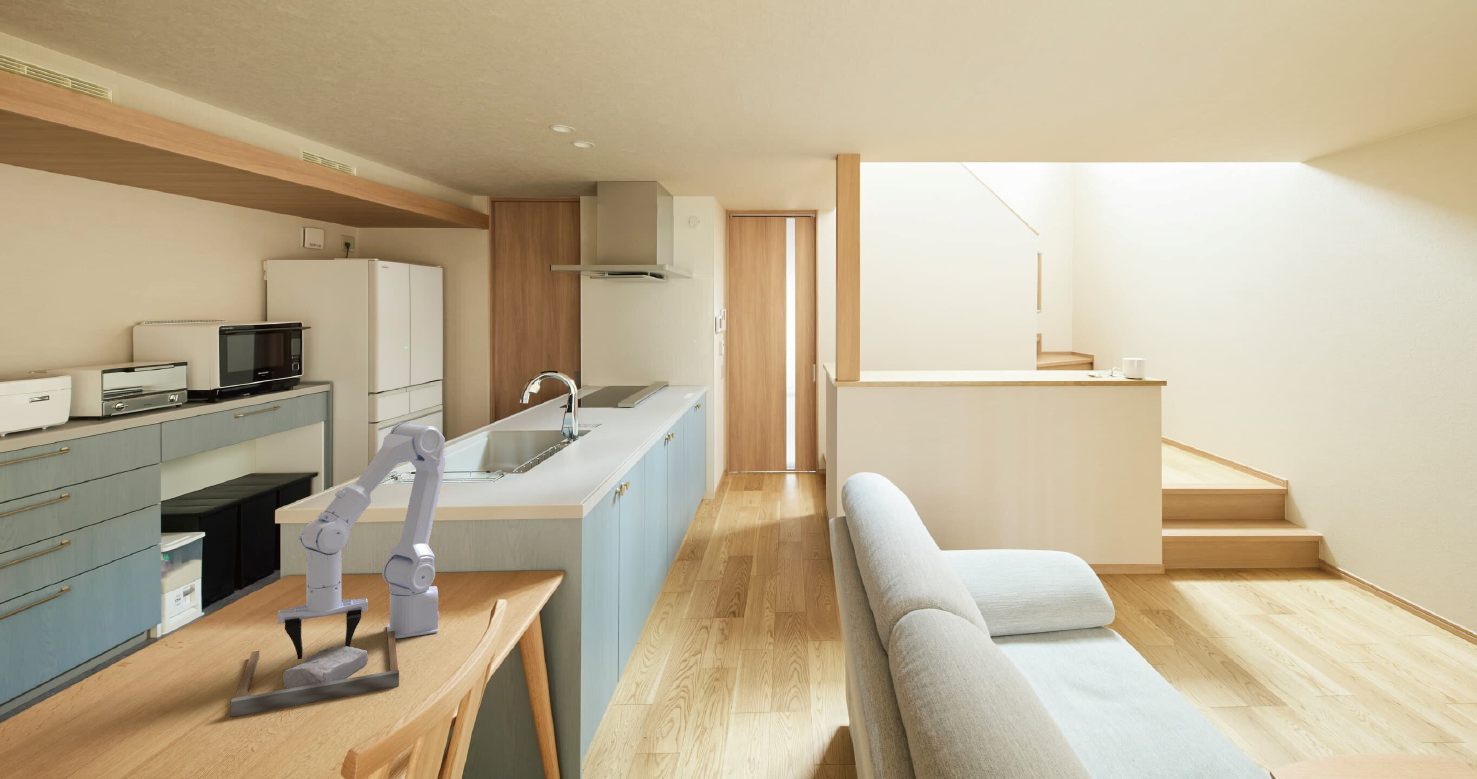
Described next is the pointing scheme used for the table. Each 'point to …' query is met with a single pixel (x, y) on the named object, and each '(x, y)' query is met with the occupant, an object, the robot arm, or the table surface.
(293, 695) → the u-shaped frame
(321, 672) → the stone block
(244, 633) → the table surface
